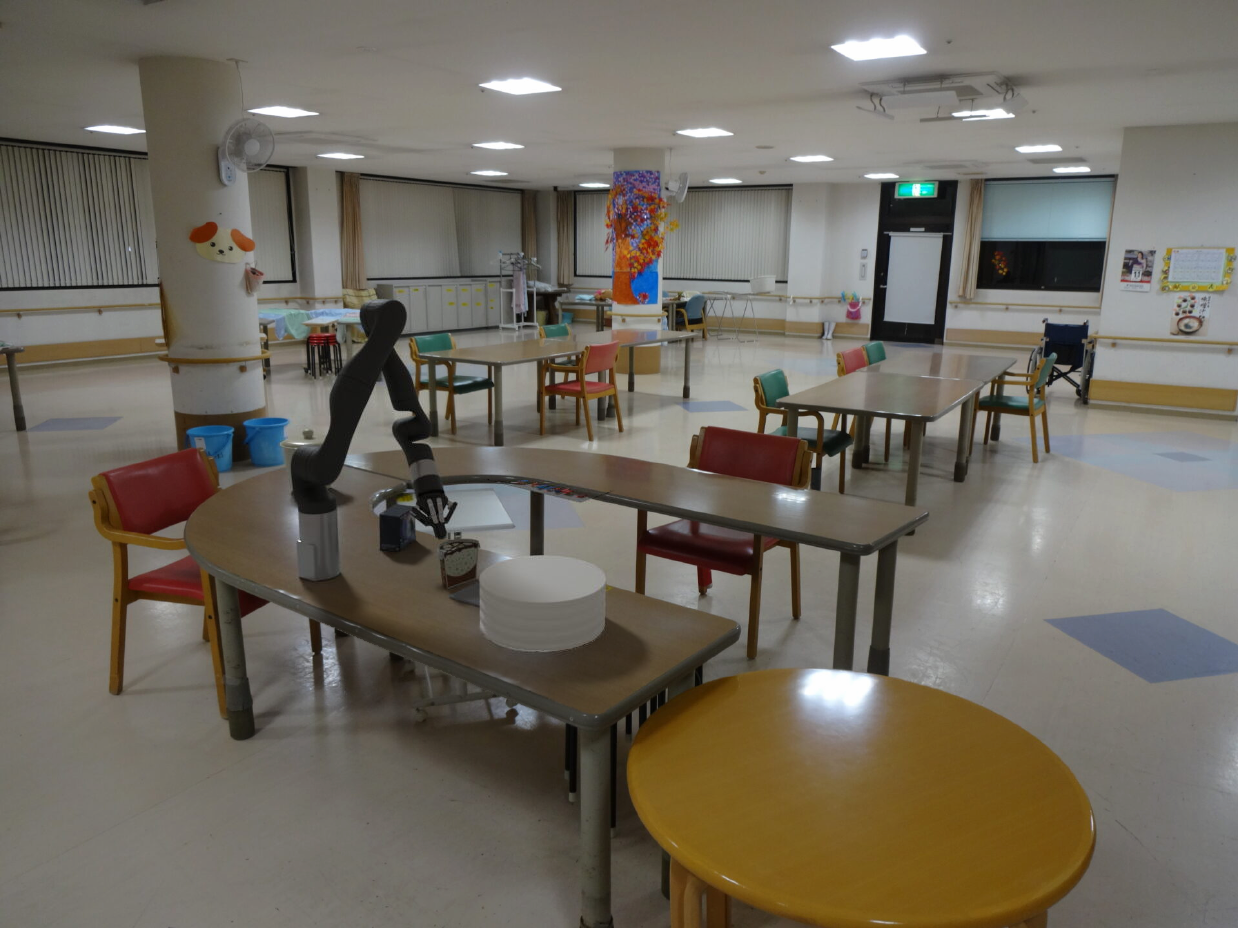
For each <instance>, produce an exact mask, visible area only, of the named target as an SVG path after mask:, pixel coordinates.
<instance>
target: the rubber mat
mask: <svg viewBox="0 0 1238 928" xmlns="http://www.w3.org/2000/svg"><path fill="white" fill-rule="evenodd" d="M449 599H452V600H455V601H459V602H462V603H466V604H469V605H472V606H476V607H479V608H480V580H479V581H477V582H475V583H473V584H471V585H468V586H467V587H465V588H462V589H460V590H459V591H456V592H455V593H452V594H450V595H449Z"/></svg>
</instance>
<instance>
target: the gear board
mask: <svg viewBox="0 0 1238 928" xmlns="http://www.w3.org/2000/svg"><path fill="white" fill-rule="evenodd" d="M526 481H528V480H521V481H520V480H519V481H517V482H511V483H520V484H522V485H509V484H504V485H506V486H510V487H514V488H519V489H523V490H527V491H531V492H535V493H540V494H543V495H548V496H552V497H555V498H560V499H564V500H568V501H572V502H576V503H583V502H586V501H589V500H592V499H593V498H588V497H584V496H578V495H577V492H576V494H570V493H569V492H574V491H569V490H568V489H569V488H567V489H562V487H561V488H556V490H554V489H553V490H552V489H551V488H555V487H551V486H550V487H549V488H545V487H548V486H547V485H536V484H538V483H537V482H536V483H533V484H527V483H524V482H526ZM496 483H498V484H501V483H500V482H496ZM563 488H564V487H563ZM558 490H559V491H558ZM563 491H565V492H563ZM582 495H583V494H582ZM585 496H589V495H587V494H585Z"/></svg>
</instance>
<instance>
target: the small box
mask: <svg viewBox="0 0 1238 928" xmlns="http://www.w3.org/2000/svg"><path fill="white" fill-rule="evenodd" d="M415 506H416V505H414V506H413V505H406V504H401V503H400V504H398V503H395V504H393V505H392V506H390V507H389V508H387V509H385V510H383V511H382V512H380V513H379V514H378V515H379V516H378V519H379V523H378V525H379V526H378V528H379V550H380V551H381V550H382V551H388V552H397V553H400V552H401V551H403V550H404V549H406V548H407V547H409V546H410V545H411V544H413V543H414V542H415V541H417V540H416V539H417V538H416V537H417V535H416V532H417V531H416V519H415V518H414V517H413V516H412V515H410V511H411V508H412V507H415ZM408 545H409V546H408Z"/></svg>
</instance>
